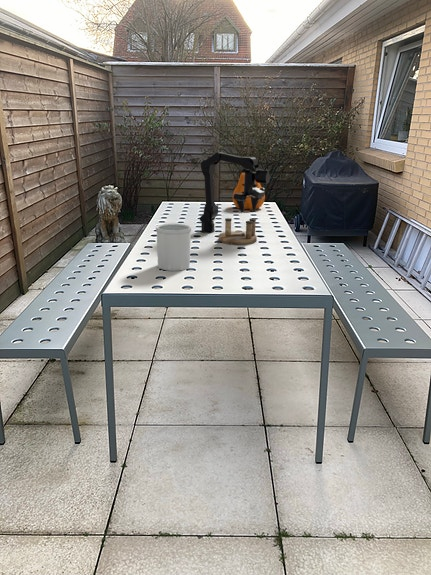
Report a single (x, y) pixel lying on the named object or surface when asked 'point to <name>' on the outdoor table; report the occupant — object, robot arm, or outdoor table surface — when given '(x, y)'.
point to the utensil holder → (173, 246)
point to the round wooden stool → (241, 240)
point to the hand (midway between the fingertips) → (248, 211)
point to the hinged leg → (228, 228)
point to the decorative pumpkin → (248, 203)
